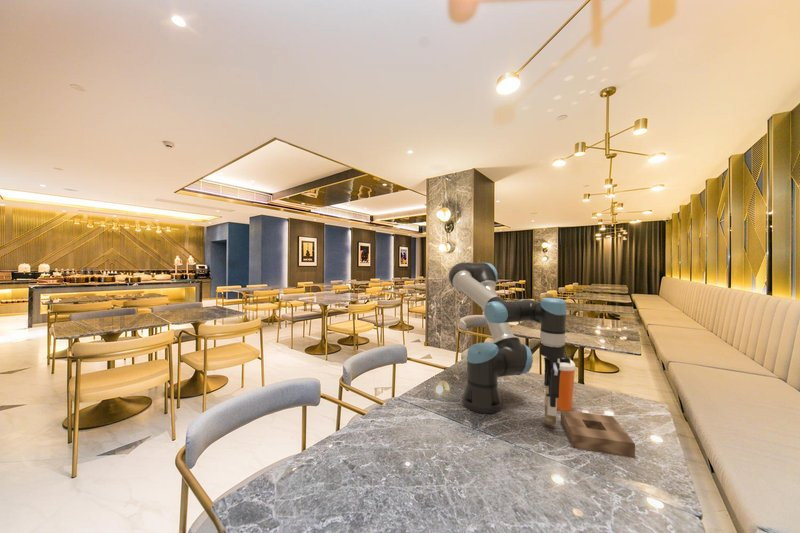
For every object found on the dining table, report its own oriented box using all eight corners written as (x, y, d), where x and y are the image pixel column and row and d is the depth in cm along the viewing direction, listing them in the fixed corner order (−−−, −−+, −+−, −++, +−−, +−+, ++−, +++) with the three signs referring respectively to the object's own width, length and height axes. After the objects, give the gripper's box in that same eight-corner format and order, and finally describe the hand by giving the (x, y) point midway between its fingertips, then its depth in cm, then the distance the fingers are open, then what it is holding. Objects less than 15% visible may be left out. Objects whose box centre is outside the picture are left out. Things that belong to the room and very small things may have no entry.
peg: (545, 424, 101) (546, 389, 101) (543, 419, 105) (544, 385, 104) (557, 426, 100) (557, 390, 100) (554, 420, 104) (555, 386, 103)
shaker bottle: (568, 402, 121) (569, 352, 121) (579, 413, 112) (580, 359, 112) (545, 400, 122) (546, 352, 122) (554, 411, 113) (555, 358, 113)
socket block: (572, 447, 91) (573, 434, 91) (560, 420, 106) (560, 409, 106) (634, 457, 87) (635, 443, 87) (612, 428, 102) (612, 416, 102)
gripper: (571, 352, 93) (569, 426, 93) (559, 338, 108) (557, 402, 109) (544, 350, 95) (542, 423, 95) (536, 337, 110) (535, 399, 111)
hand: (550, 412), depth 102 cm, fingers closed on peg, 3 cm apart
